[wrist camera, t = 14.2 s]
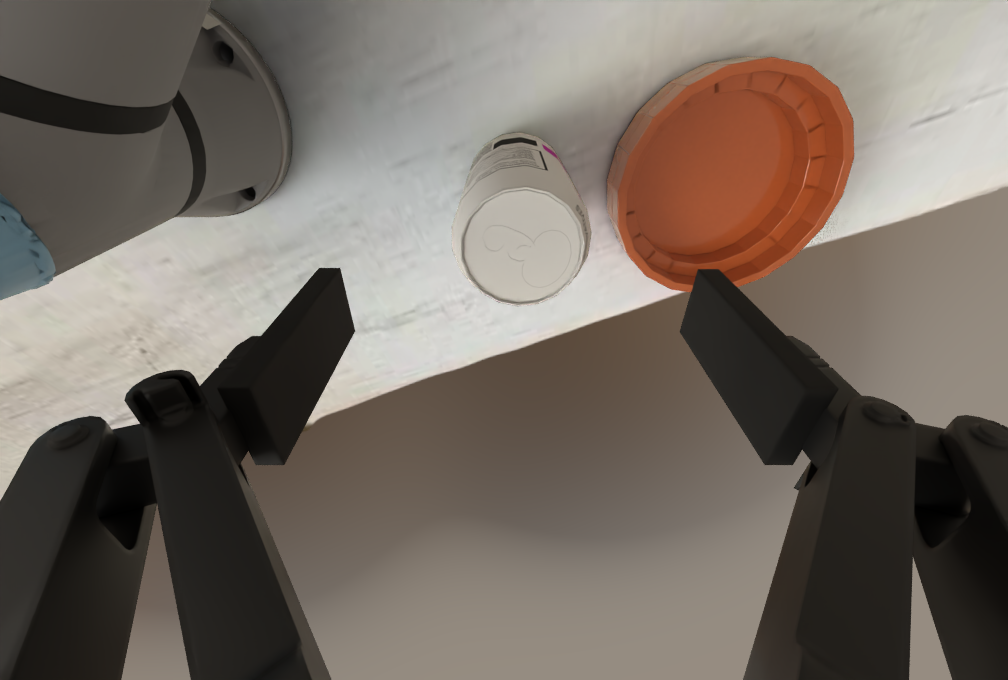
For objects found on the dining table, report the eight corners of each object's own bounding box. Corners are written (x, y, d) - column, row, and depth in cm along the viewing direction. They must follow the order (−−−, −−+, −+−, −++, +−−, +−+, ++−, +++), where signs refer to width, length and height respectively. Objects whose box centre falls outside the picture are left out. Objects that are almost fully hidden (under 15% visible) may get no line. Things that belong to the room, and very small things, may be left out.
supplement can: (581, 156, 34) (623, 211, 22) (538, 244, 39) (554, 332, 26) (489, 113, 33) (480, 147, 20) (455, 210, 37) (430, 287, 25)
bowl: (583, 256, 39) (591, 276, 36) (647, 37, 30) (667, 34, 26) (750, 283, 41) (775, 305, 37) (861, 82, 32) (909, 86, 28)
